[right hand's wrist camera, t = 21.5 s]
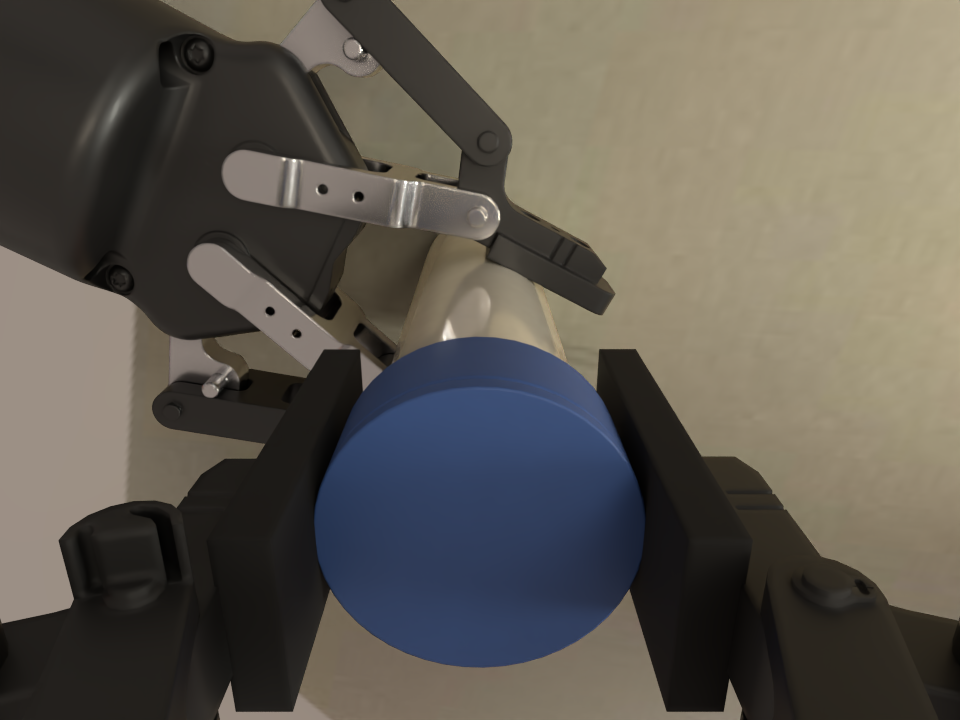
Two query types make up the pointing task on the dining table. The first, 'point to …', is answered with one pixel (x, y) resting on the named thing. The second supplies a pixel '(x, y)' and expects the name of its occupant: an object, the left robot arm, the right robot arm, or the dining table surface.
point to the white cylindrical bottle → (475, 301)
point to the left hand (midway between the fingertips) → (560, 364)
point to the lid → (479, 506)
